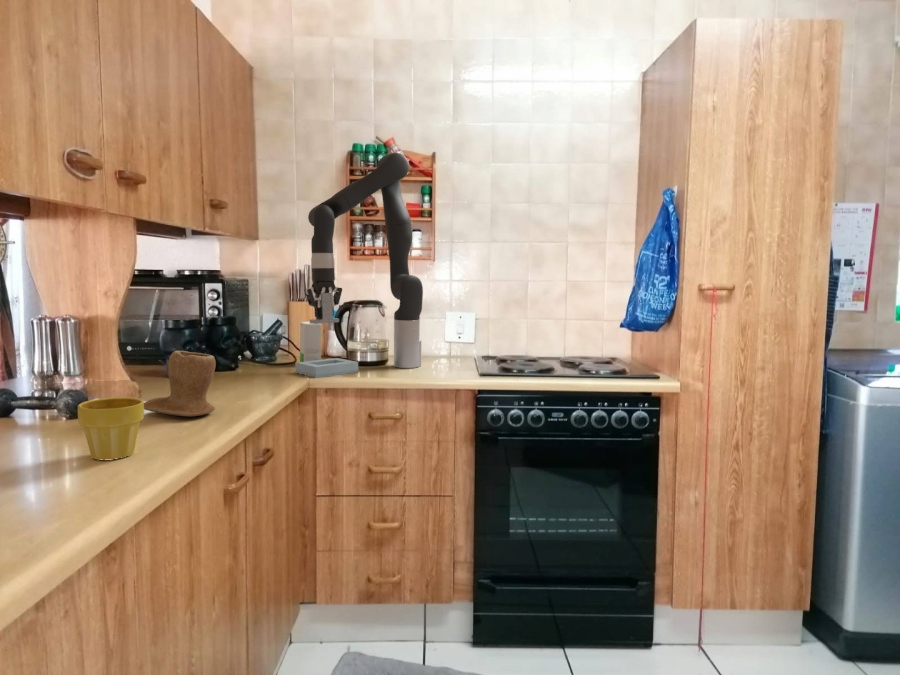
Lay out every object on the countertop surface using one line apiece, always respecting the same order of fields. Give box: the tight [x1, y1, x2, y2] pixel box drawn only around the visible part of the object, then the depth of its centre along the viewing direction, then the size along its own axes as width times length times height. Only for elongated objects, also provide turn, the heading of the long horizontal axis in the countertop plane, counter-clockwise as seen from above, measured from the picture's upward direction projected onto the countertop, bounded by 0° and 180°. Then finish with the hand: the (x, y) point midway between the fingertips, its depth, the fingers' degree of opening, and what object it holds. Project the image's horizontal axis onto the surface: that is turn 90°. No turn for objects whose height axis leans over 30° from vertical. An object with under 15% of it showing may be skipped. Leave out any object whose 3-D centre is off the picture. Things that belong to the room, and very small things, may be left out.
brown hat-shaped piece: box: [144, 350, 217, 417], centre depth 136 cm, size 15×12×15 cm
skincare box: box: [299, 321, 323, 362], centre depth 213 cm, size 8×7×16 cm
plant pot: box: [77, 396, 145, 460], centre depth 105 cm, size 10×10×10 cm
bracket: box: [309, 293, 340, 325], centre depth 195 cm, size 9×4×10 cm, turn 136°
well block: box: [294, 357, 359, 379], centre depth 196 cm, size 17×12×4 cm
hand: (324, 318), depth 195 cm, fingers closed on bracket, 4 cm apart
